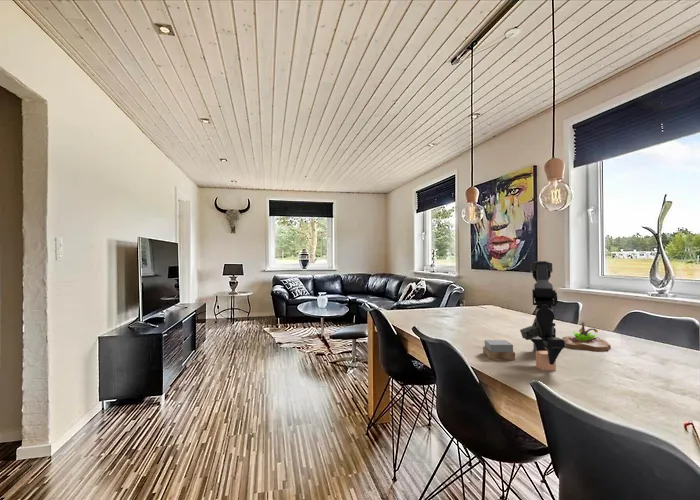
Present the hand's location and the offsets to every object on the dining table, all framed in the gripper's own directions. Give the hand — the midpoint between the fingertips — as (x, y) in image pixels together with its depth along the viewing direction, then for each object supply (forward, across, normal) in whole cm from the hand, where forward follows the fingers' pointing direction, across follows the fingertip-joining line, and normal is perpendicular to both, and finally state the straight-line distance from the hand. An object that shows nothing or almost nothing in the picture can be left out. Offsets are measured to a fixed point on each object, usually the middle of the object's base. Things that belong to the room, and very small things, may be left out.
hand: (545, 360), depth 134 cm
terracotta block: (+3, 0, 0) cm, 3 cm away
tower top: (0, -16, -12) cm, 20 cm away
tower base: (+3, -16, -12) cm, 20 cm away
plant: (+3, -36, +34) cm, 50 cm away
